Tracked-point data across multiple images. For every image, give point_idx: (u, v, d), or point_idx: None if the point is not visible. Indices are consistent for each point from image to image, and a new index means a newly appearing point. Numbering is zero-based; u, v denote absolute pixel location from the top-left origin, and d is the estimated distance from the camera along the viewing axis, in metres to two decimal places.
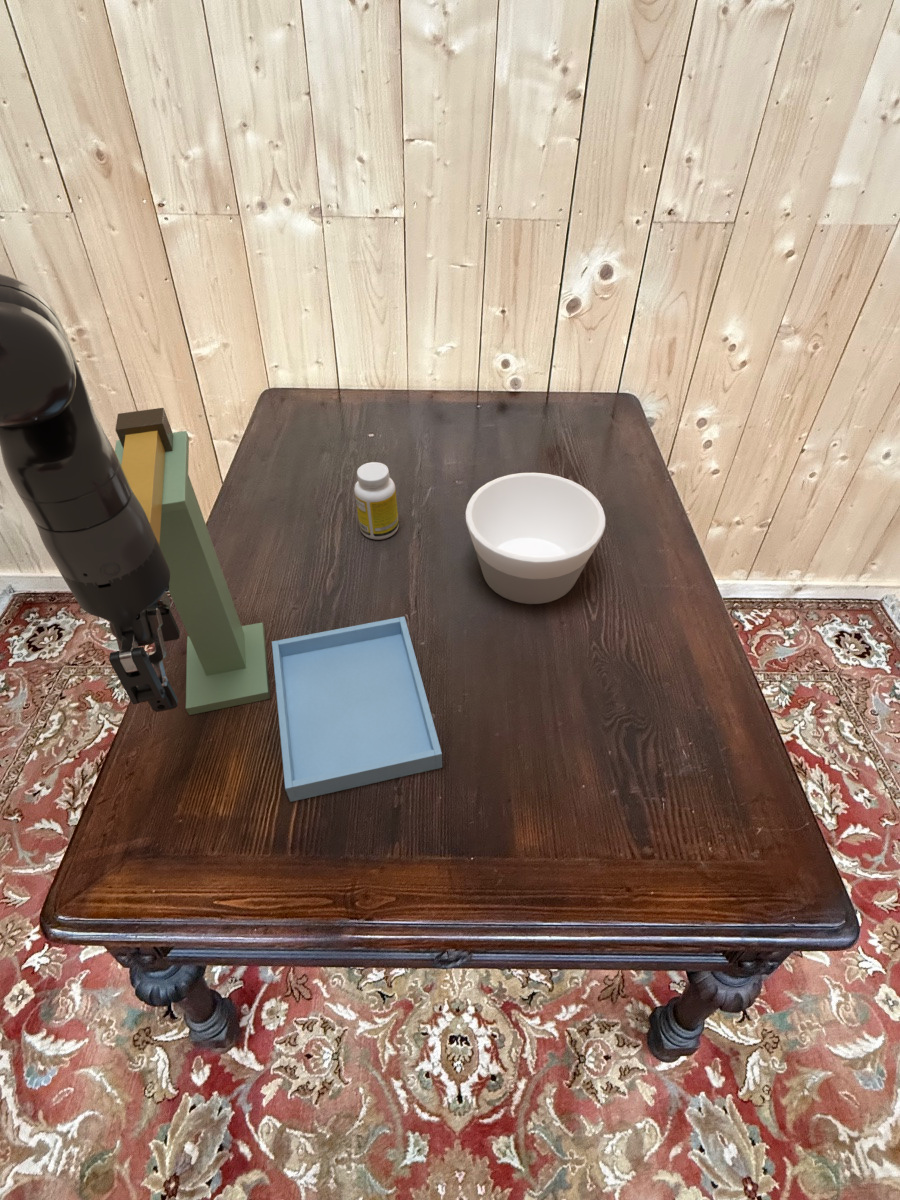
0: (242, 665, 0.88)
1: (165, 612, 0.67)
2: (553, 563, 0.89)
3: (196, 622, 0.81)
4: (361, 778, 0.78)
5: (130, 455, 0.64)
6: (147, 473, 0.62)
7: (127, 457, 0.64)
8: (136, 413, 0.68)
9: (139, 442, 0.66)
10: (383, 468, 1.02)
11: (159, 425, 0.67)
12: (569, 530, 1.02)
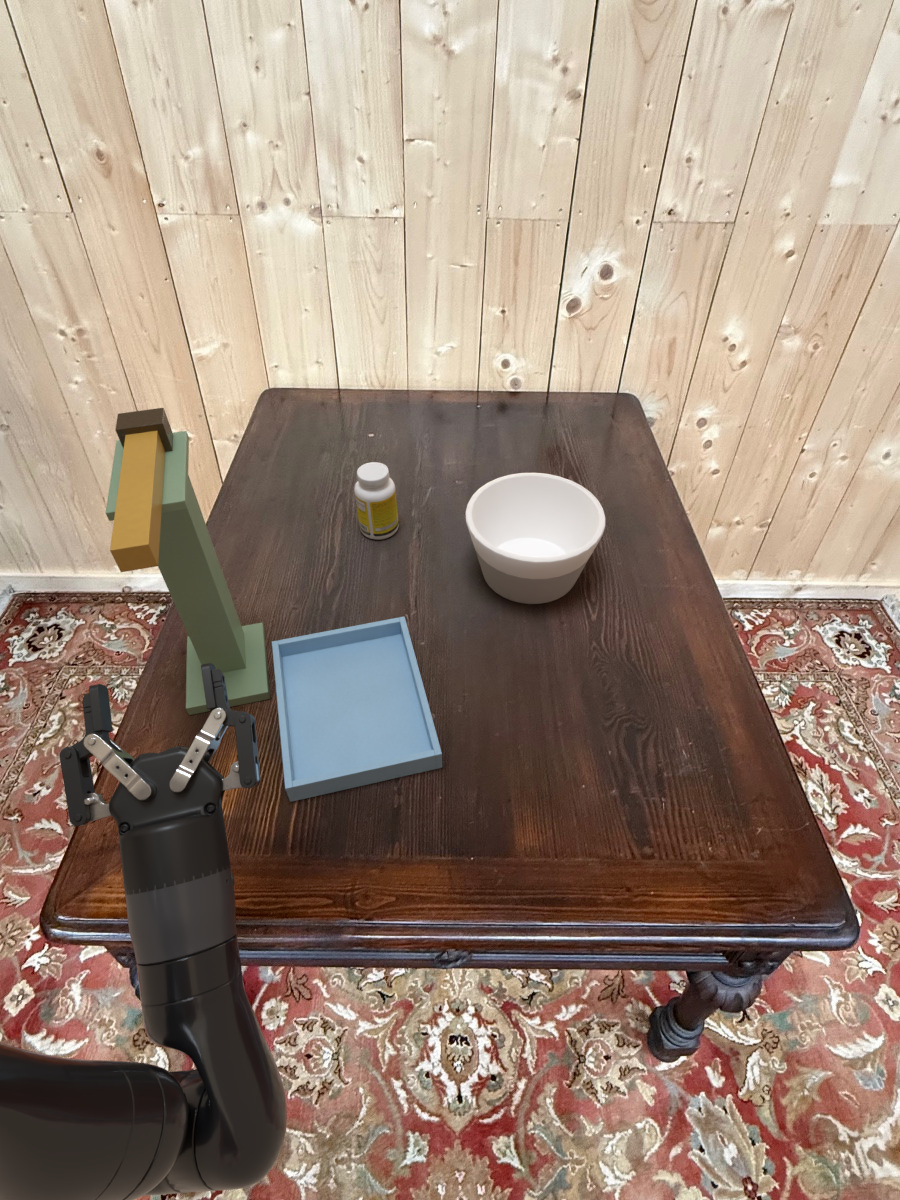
0: (242, 665, 0.88)
1: None
2: (553, 563, 0.89)
3: (196, 622, 0.81)
4: (361, 778, 0.78)
5: (130, 455, 0.64)
6: (147, 473, 0.62)
7: (127, 457, 0.64)
8: (136, 413, 0.68)
9: (139, 442, 0.66)
10: (383, 468, 1.02)
11: (159, 425, 0.67)
12: (569, 530, 1.02)
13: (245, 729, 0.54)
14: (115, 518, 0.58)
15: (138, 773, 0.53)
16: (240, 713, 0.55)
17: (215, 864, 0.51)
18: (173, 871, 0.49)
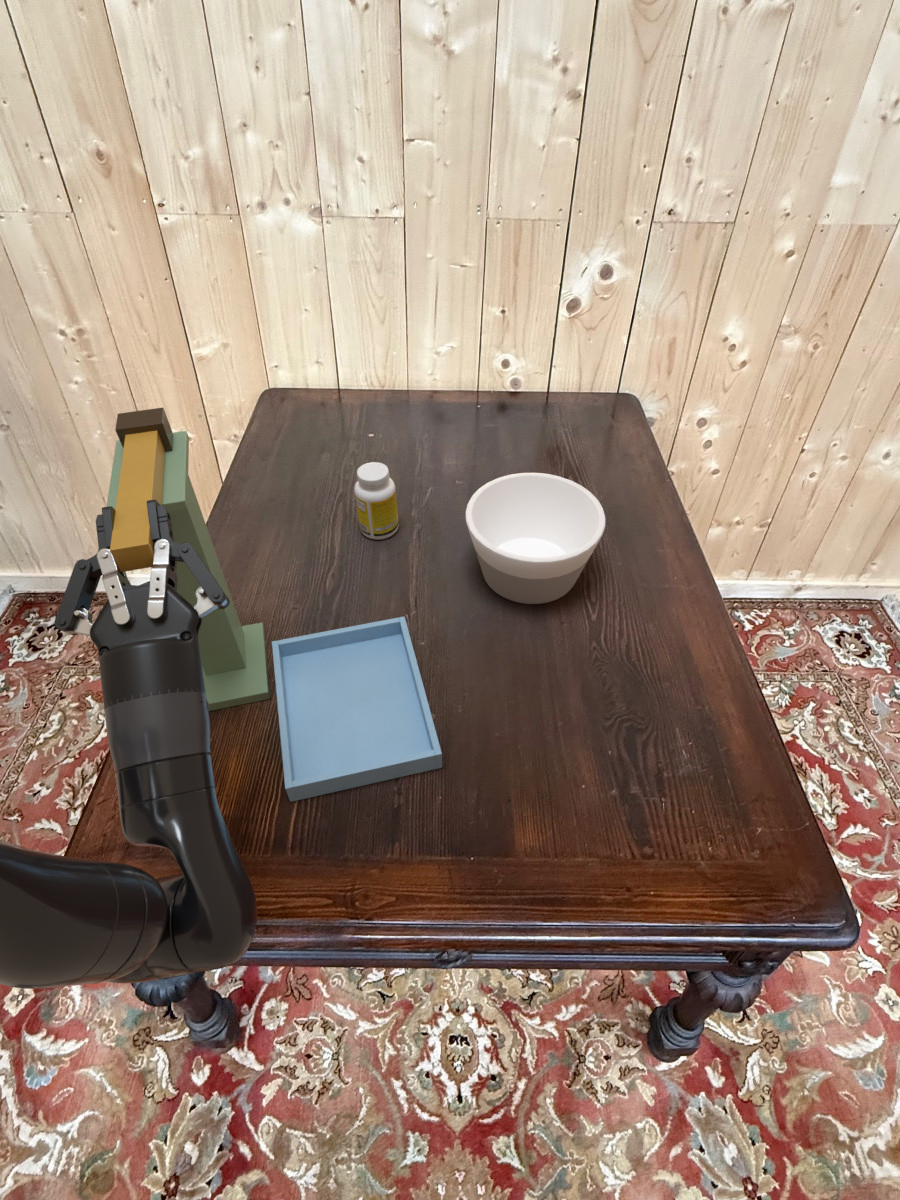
0: (242, 665, 0.88)
1: None
2: (553, 563, 0.89)
3: None
4: (361, 778, 0.78)
5: (130, 455, 0.64)
6: (147, 473, 0.62)
7: (127, 457, 0.64)
8: (136, 413, 0.68)
9: (139, 442, 0.66)
10: (383, 468, 1.02)
11: (159, 425, 0.67)
12: (569, 530, 1.02)
13: (192, 556, 0.57)
14: (115, 518, 0.58)
15: (127, 601, 0.56)
16: (183, 544, 0.57)
17: (190, 683, 0.54)
18: (149, 683, 0.52)
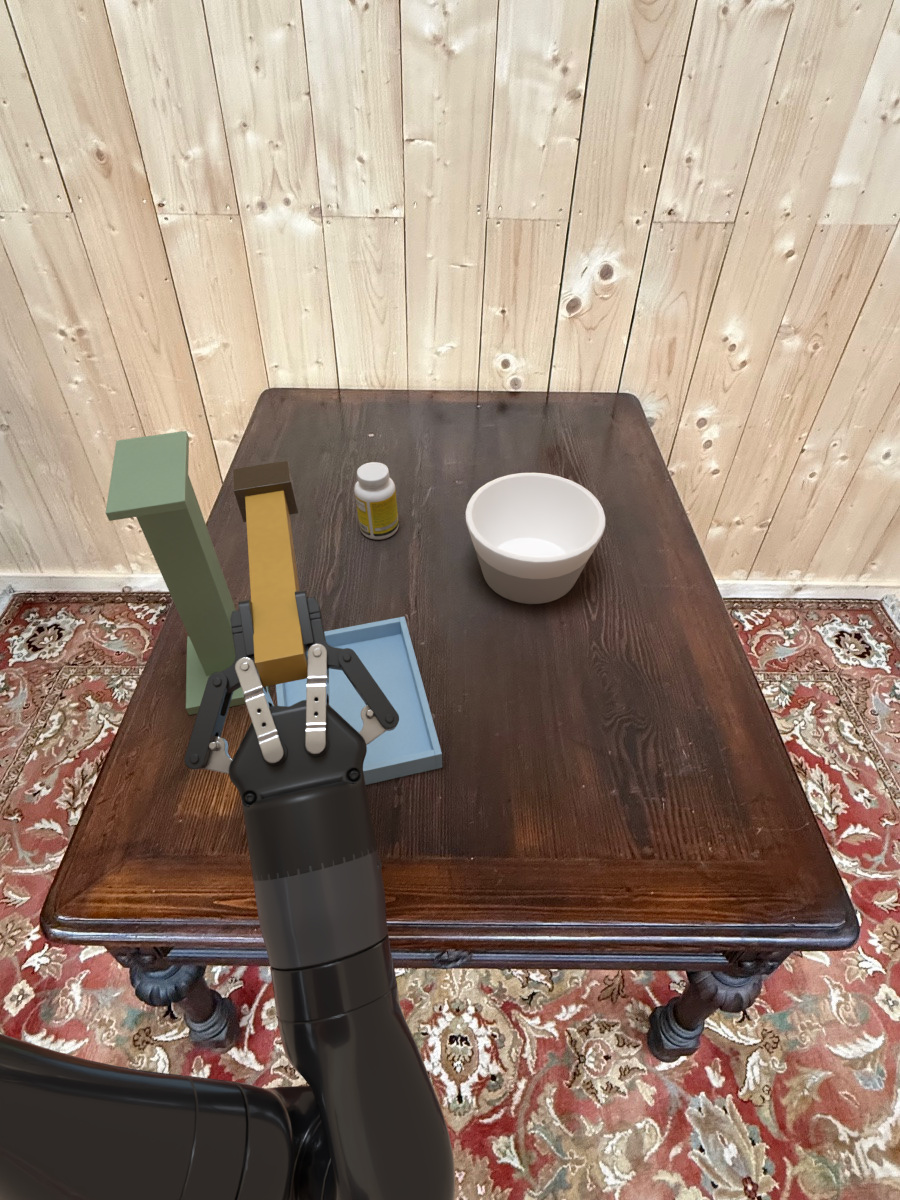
0: None
1: None
2: (553, 563, 0.89)
3: (196, 622, 0.81)
4: None
5: (256, 525, 0.51)
6: (282, 550, 0.49)
7: (253, 528, 0.51)
8: (255, 468, 0.55)
9: (264, 506, 0.53)
10: (383, 468, 1.02)
11: (286, 484, 0.54)
12: (569, 530, 1.02)
13: (356, 666, 0.44)
14: (253, 615, 0.45)
15: (277, 729, 0.42)
16: (344, 650, 0.44)
17: (365, 844, 0.41)
18: (320, 851, 0.39)
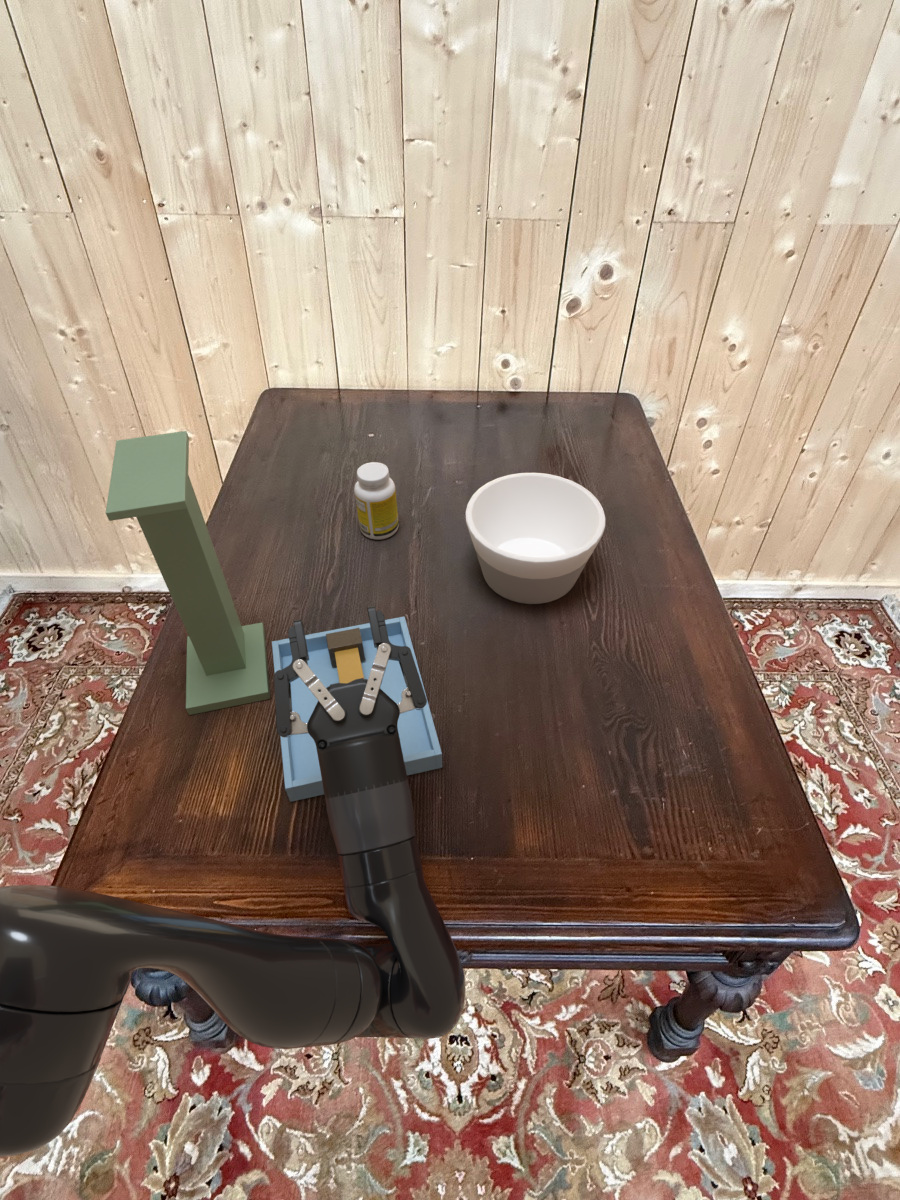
0: (242, 665, 0.88)
1: (377, 646, 0.66)
2: (553, 563, 0.89)
3: (196, 622, 0.81)
4: None
5: (343, 671, 0.85)
6: None
7: (341, 673, 0.85)
8: (339, 633, 0.90)
9: (346, 658, 0.87)
10: (383, 468, 1.02)
11: (359, 644, 0.88)
12: (569, 530, 1.02)
13: (409, 660, 0.64)
14: None
15: (334, 699, 0.62)
16: (402, 647, 0.64)
17: (401, 774, 0.61)
18: (372, 777, 0.59)
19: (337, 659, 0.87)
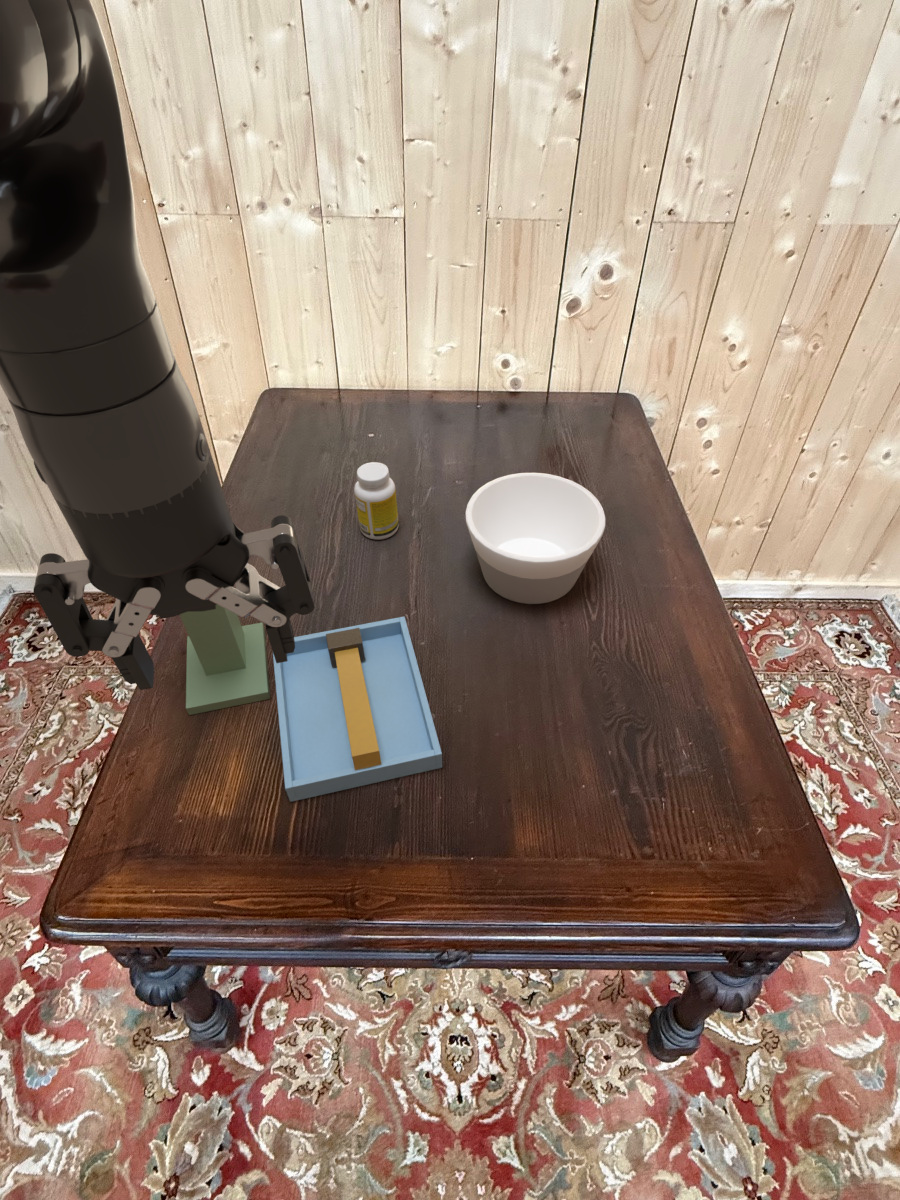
0: (242, 665, 0.88)
1: None
2: (553, 563, 0.89)
3: (196, 622, 0.81)
4: (361, 778, 0.78)
5: (343, 671, 0.85)
6: (361, 687, 0.83)
7: (341, 673, 0.85)
8: (339, 633, 0.90)
9: (346, 658, 0.87)
10: (383, 468, 1.02)
11: (359, 644, 0.88)
12: (569, 530, 1.02)
13: None
14: (348, 728, 0.78)
15: None
16: None
17: None
18: None
19: (337, 659, 0.87)
